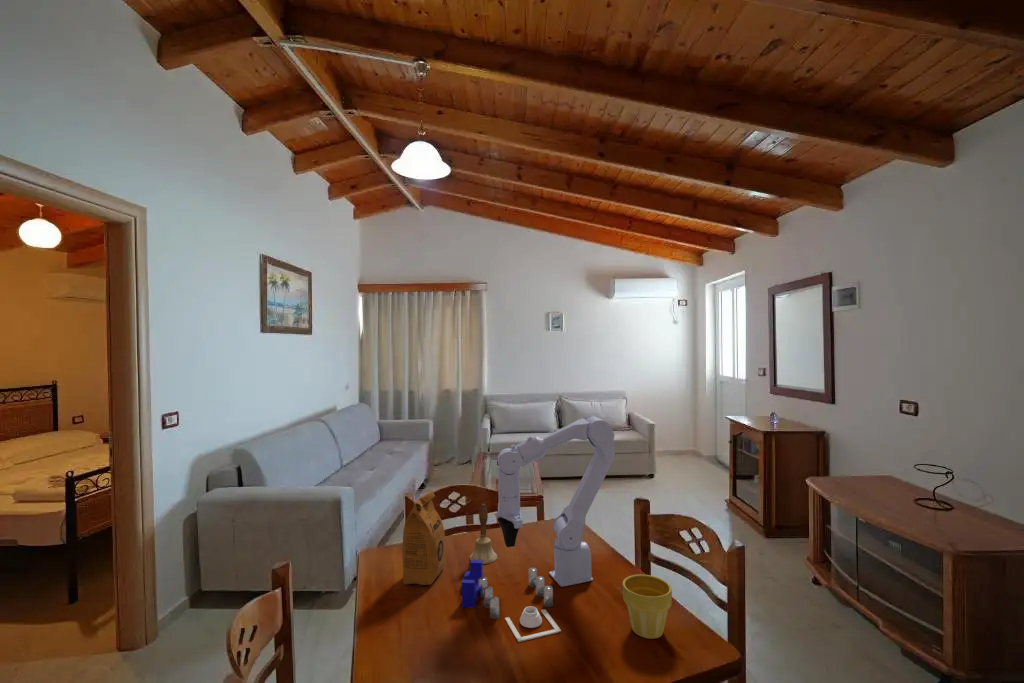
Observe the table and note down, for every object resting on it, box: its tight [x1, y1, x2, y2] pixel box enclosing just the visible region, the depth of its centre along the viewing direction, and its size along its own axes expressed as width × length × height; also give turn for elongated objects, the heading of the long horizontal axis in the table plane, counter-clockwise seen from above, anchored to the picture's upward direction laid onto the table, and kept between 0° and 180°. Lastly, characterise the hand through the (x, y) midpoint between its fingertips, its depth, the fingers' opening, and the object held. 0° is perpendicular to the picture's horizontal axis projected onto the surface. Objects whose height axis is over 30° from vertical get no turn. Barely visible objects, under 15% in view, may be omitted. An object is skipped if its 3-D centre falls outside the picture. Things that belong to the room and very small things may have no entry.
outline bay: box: [504, 608, 562, 643], centre depth 105 cm, size 10×9×1 cm
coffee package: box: [401, 490, 446, 586], centre depth 129 cm, size 10×12×22 cm
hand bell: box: [469, 503, 498, 565], centre depth 140 cm, size 8×8×16 cm
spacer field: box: [478, 567, 554, 620], centre depth 116 cm, size 16×12×4 cm
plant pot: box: [622, 574, 673, 640], centre depth 103 cm, size 10×10×10 cm
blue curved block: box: [461, 560, 484, 608], centre depth 119 cm, size 12×4×6 cm, turn 174°
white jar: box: [519, 605, 543, 629], centre depth 107 cm, size 5×3×5 cm
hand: (510, 545), depth 125 cm, fingers closed
